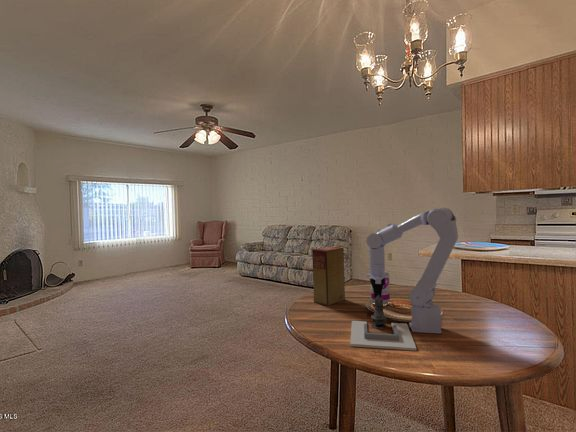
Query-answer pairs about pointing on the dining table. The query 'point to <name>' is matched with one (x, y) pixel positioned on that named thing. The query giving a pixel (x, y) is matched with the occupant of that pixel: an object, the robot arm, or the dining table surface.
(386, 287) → the supplement can
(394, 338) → the board
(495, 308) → the dining table surface
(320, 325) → the dining table surface
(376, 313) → the black chess piece
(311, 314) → the dining table surface
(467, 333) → the dining table surface
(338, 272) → the food packaging
